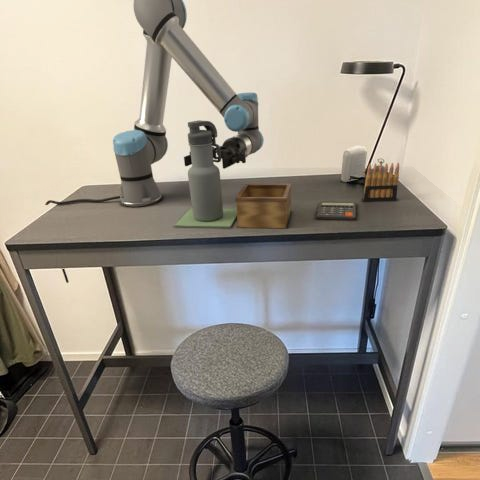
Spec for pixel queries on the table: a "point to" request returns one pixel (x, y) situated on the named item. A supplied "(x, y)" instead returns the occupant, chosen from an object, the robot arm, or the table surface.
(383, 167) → the pocket watch
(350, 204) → the calculator
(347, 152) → the photo printer
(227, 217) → the desk mat
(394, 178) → the ammunition clip
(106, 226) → the table surface
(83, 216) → the table surface
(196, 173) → the water bottle
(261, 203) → the wooden box
